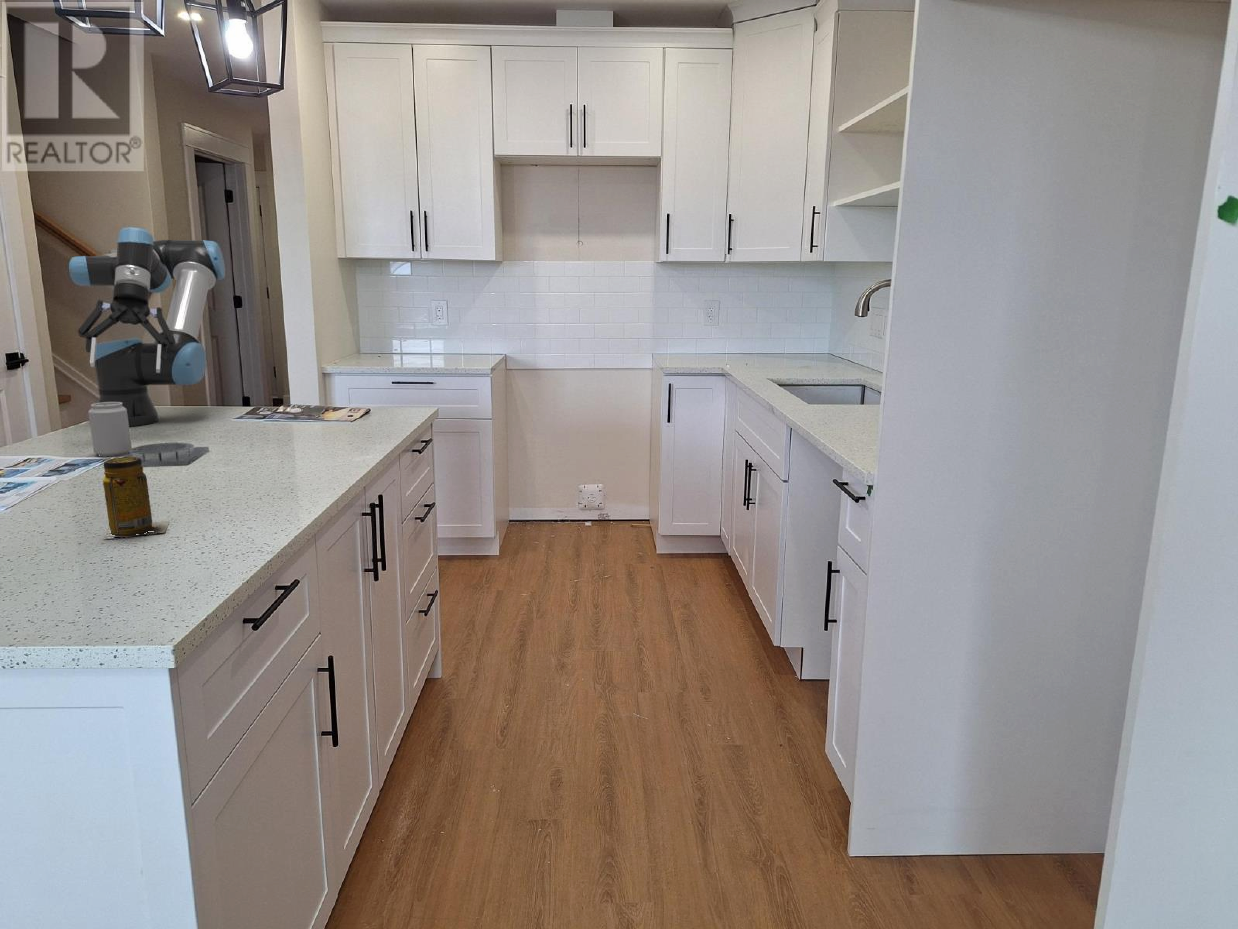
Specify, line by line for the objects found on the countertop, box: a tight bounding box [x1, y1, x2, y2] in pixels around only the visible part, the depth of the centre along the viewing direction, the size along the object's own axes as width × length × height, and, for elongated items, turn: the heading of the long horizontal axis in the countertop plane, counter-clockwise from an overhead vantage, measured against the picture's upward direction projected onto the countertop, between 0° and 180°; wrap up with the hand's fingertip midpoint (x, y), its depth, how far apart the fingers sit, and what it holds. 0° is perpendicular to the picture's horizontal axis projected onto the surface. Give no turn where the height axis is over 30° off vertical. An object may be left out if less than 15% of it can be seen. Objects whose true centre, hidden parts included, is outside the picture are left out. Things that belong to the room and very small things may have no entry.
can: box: [87, 402, 133, 457], centre depth 185 cm, size 8×8×12 cm
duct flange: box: [124, 441, 210, 467], centre depth 182 cm, size 15×15×2 cm
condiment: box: [102, 456, 170, 540], centre depth 130 cm, size 7×8×12 cm
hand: (125, 368), depth 193 cm, fingers open, 13 cm apart
